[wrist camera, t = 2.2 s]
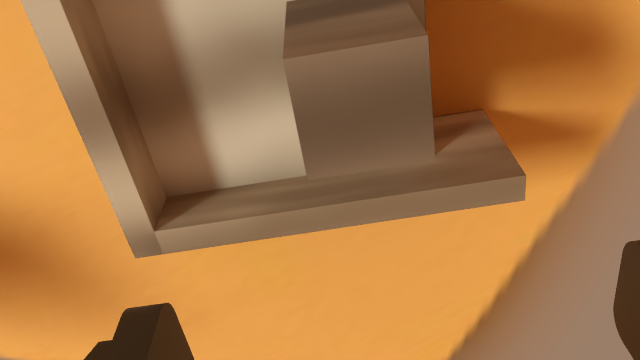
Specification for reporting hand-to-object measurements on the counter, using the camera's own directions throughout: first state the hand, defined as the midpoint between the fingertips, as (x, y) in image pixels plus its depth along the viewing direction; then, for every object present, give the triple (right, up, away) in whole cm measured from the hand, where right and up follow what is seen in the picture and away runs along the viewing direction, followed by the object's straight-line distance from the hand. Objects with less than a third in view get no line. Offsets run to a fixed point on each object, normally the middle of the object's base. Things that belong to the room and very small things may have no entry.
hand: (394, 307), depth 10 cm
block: (0, +8, +11) cm, 14 cm away
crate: (-2, +9, +14) cm, 17 cm away
